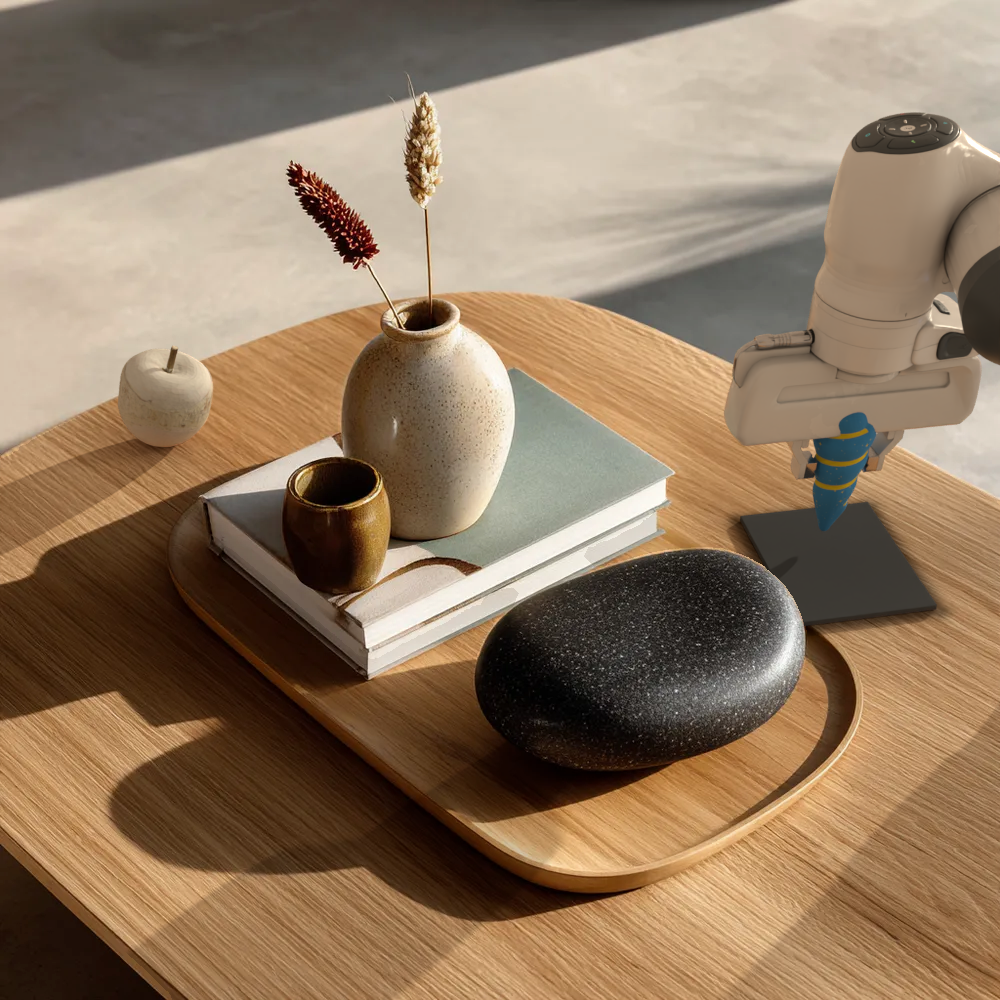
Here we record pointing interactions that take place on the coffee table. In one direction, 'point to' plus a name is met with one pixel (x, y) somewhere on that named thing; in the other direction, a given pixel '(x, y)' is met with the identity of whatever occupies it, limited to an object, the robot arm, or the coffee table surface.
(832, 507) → the ornament
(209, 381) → the decorative object
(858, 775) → the coffee table surface
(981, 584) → the coffee table surface
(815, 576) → the mat
